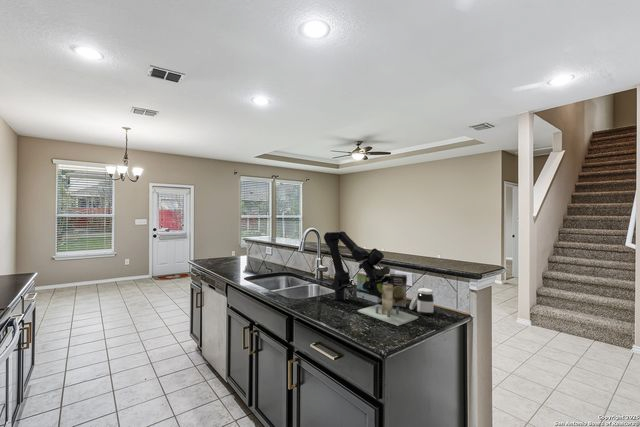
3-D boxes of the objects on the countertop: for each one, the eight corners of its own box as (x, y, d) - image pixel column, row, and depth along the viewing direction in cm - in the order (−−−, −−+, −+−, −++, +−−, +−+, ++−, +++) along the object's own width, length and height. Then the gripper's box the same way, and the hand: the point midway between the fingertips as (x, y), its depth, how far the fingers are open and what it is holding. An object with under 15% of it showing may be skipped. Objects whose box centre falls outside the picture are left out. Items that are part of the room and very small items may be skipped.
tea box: (355, 297, 179) (356, 272, 179) (366, 294, 186) (366, 270, 186) (377, 303, 169) (377, 276, 169) (387, 300, 176) (388, 274, 176)
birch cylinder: (380, 311, 151) (380, 283, 151) (389, 311, 153) (390, 283, 152) (384, 315, 147) (385, 286, 146) (394, 314, 148) (394, 285, 148)
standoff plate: (357, 311, 153) (357, 304, 153) (378, 305, 164) (378, 298, 164) (398, 325, 135) (398, 317, 135) (418, 318, 146) (418, 310, 146)
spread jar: (434, 316, 148) (435, 292, 148) (410, 314, 150) (410, 291, 150) (430, 309, 160) (431, 287, 160) (408, 307, 162) (408, 285, 162)
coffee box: (388, 305, 165) (389, 275, 165) (388, 302, 171) (389, 273, 171) (406, 307, 163) (406, 276, 163) (405, 303, 169) (406, 274, 169)
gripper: (367, 262, 147) (385, 290, 139) (391, 259, 159) (409, 285, 151) (355, 276, 153) (371, 303, 145) (378, 272, 165) (395, 297, 157)
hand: (387, 297), depth 149 cm, fingers open, 9 cm apart
